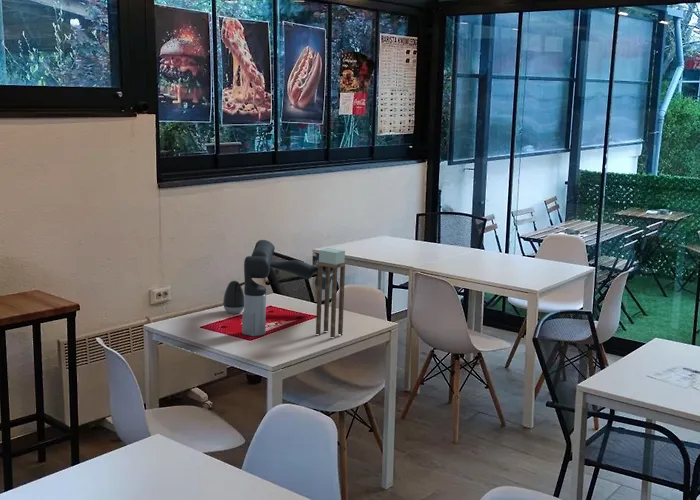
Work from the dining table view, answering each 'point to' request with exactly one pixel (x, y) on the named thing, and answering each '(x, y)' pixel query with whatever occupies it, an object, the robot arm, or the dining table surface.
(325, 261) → the mint green block
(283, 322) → the dining table surface
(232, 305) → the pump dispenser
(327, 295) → the walnut stand
